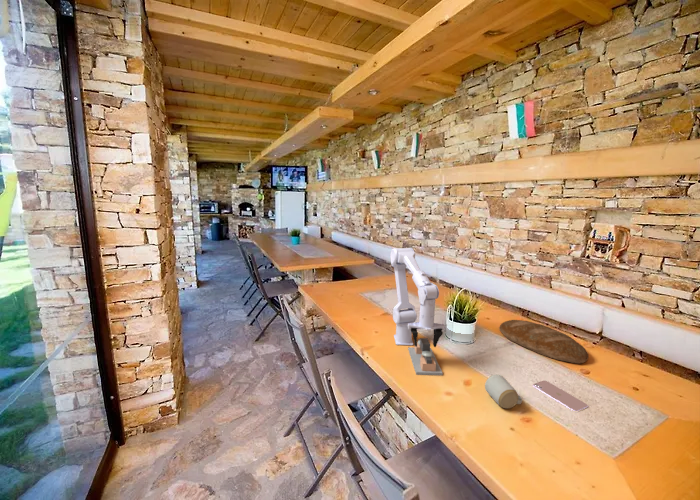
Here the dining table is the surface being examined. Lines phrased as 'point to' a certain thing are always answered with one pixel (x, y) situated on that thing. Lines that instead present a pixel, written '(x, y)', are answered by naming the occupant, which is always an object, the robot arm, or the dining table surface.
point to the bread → (544, 341)
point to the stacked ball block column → (425, 349)
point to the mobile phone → (560, 396)
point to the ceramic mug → (502, 391)
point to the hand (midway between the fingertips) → (425, 345)
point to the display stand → (423, 362)
